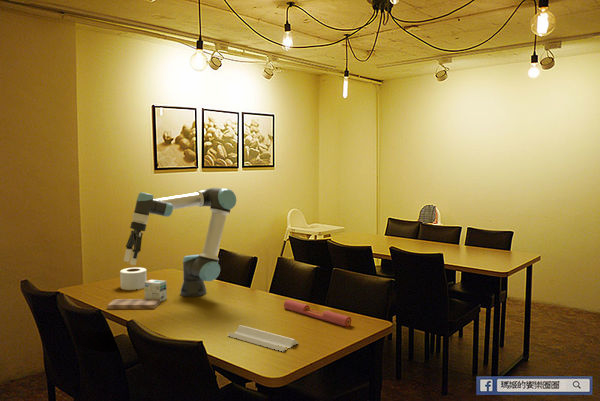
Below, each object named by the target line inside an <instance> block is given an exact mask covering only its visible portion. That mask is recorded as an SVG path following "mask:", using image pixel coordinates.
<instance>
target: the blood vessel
mask: <svg viewBox="0 0 600 401" xmlns="http://www.w3.org/2000/svg"><path fill="white" fill-rule="evenodd" d="M283 308H284V309H285V310H287V311H288V310H289V311H292V312H295V313H299V314H302V315H304V316H305V315H306V316H308V317H312V318H315V319H319V320H321V321H325V322H328V323H331V324H335V325H338V326H342V327H344V326H345V328H348V327H350V326H351V325H352V317H350V316H349V315H348V316H347V315H343V314H340V313H337V312H333V311H329V310H324V311H323V312H321V311H318V310H314V309H310V305H308V304H305V303H301V302H298V301H295V300H291V299H286V300H285V301H284V303H283Z"/></svg>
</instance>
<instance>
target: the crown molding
mask: <svg viewBox="0 0 600 401" xmlns="http://www.w3.org/2000/svg"><path fill="white" fill-rule="evenodd" d="M229 336H230V337H229ZM227 337H229V338H233V339H236V338H237V340H240V341H244V342H247V343H251V344H254V345H257V346H260V345H261V347H265V348H267V347H268V348H269V349H272V350H274V349H275V351H278V350H279V351H278V352H281V351H282V352H281V353H284V352H286V351H285V350H287V349H286V348H285V347H287V348H290V349H292V348H293V346H295V345H296V344H298V345H299V344H300V343H299V342H298V341H297V340H296V339H294V338H291V337H287V336H283V335H280V334H277V333H276V334H275V333H274V332H273V333H272V332H268V331H265V330H261V329H257V328H255V327H249V326H246V325H242V324H239V325H238V327H237V329H236V330H235V332H231V331H229V332H228V334H227ZM278 345H279V346H278ZM281 346H282V347H281ZM291 347H292V348H291ZM287 351H288V350H287Z"/></svg>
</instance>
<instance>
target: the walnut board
mask: <svg viewBox="0 0 600 401" xmlns="http://www.w3.org/2000/svg"><path fill="white" fill-rule="evenodd" d="M160 304H161V302H160V299H145V298H122V299H121V298H117V299H116V298H115V299H113V300H112V301H111V302H109V303H108V304H107V310H124V309H125V310H151V309H152V310H156V309H157V307H158V306H159V305H160Z"/></svg>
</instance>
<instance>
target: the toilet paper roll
mask: <svg viewBox="0 0 600 401" xmlns="http://www.w3.org/2000/svg"><path fill="white" fill-rule="evenodd" d="M119 274H120V275H119V278H120V289H122V290H125V291H135V290H136V289H137V290H141V289H145V288H144V282H145V281H148V280H147V279H148V278H147V269H146V267H145V268H144V267H135V266H134V267H127V268H123V269H121V270H120V271H119Z"/></svg>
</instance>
